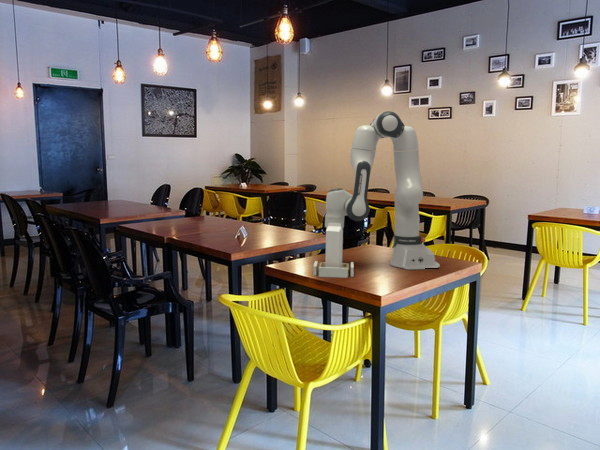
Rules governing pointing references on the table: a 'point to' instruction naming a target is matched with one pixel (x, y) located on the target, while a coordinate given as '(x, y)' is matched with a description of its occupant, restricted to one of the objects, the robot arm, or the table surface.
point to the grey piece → (332, 271)
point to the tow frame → (344, 265)
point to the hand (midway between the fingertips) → (333, 252)
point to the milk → (334, 245)
